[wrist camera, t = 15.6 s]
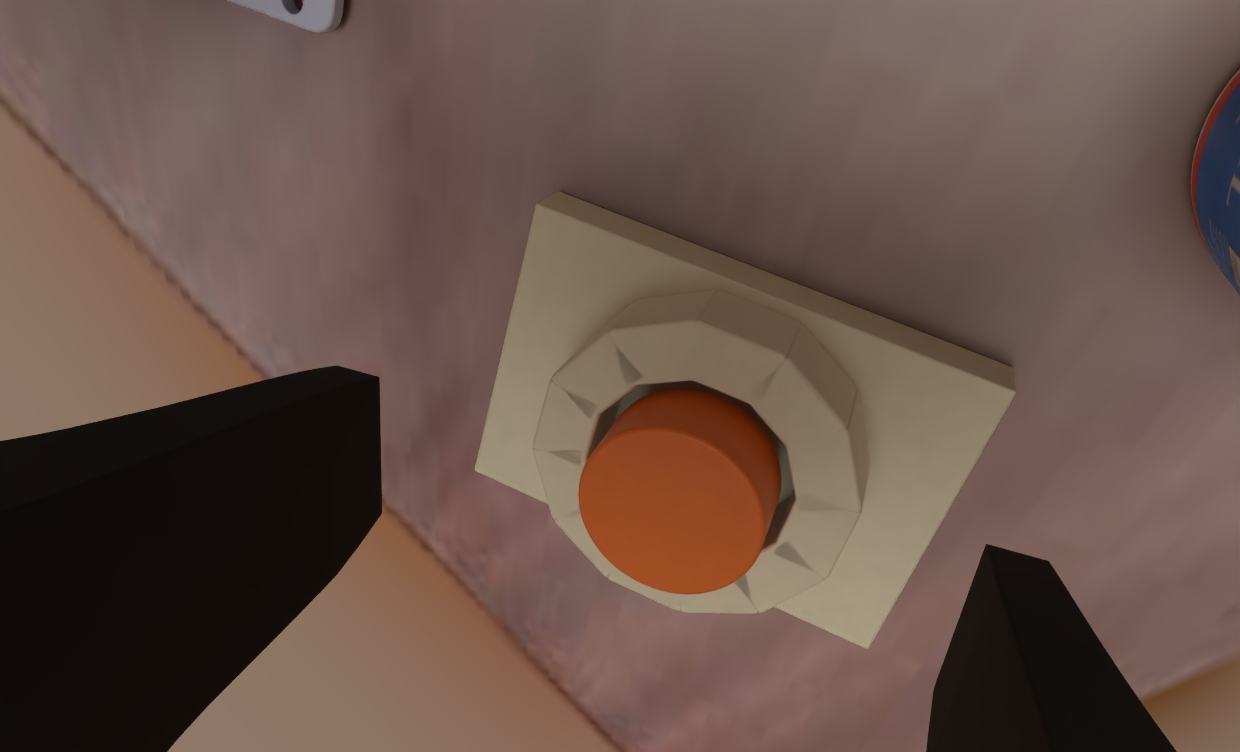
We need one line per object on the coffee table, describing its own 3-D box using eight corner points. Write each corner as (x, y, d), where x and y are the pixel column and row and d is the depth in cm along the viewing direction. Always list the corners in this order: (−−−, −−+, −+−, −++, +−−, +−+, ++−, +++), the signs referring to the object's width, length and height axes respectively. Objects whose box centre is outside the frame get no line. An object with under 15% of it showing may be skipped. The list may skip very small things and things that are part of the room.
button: (589, 500, 19) (557, 547, 18) (634, 358, 17) (603, 396, 16) (746, 571, 19) (727, 625, 17) (809, 431, 17) (794, 478, 15)
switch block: (495, 448, 23) (436, 510, 20) (557, 190, 19) (495, 225, 17) (872, 616, 21) (859, 708, 18) (1014, 366, 18) (1022, 437, 15)
